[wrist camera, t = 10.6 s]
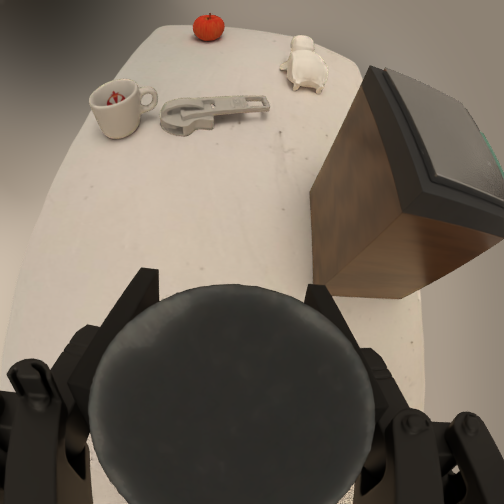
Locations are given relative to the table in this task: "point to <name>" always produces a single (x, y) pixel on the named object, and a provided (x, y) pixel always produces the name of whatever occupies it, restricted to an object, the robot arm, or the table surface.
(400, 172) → the scale
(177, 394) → the pill bottle
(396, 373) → the table surface
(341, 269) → the stand
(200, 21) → the apple
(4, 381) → the table surface
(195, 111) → the zipper pull
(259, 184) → the table surface
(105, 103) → the cup
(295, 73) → the white turtle figurine
